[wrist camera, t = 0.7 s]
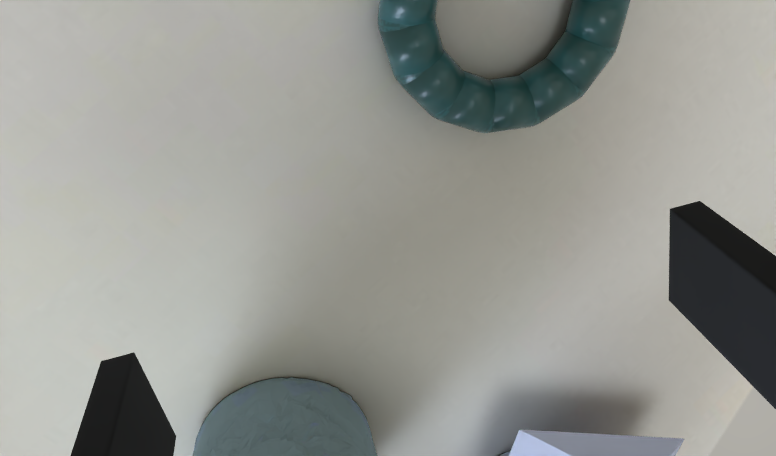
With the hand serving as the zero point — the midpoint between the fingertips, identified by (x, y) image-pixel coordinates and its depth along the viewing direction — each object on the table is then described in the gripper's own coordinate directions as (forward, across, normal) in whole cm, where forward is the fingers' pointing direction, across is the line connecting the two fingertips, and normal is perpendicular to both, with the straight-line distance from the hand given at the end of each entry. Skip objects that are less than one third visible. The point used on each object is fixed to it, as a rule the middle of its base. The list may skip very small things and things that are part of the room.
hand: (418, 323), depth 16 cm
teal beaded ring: (+11, +6, +4) cm, 13 cm away
